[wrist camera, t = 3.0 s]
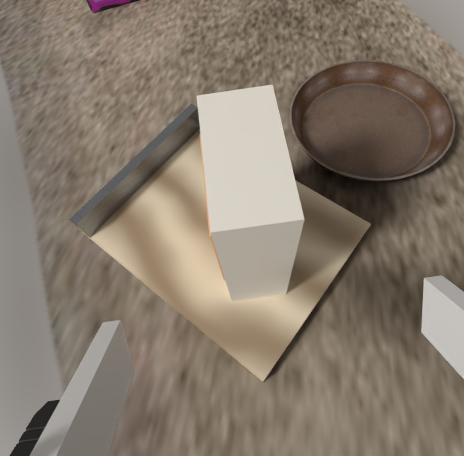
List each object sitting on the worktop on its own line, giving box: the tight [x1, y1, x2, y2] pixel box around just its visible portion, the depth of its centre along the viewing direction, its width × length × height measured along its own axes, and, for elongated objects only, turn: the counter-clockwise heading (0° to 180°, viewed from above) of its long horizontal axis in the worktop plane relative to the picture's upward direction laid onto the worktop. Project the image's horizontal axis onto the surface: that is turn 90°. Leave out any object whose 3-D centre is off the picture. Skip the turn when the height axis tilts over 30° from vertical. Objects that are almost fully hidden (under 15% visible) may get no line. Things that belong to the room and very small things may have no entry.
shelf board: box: [83, 129, 371, 382], centre depth 36 cm, size 18×24×2 cm
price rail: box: [69, 104, 200, 237], centre depth 37 cm, size 18×1×3 cm, turn 142°
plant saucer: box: [290, 60, 455, 182], centre depth 40 cm, size 18×18×3 cm
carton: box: [197, 85, 304, 302], centre depth 27 cm, size 5×10×15 cm, turn 7°
